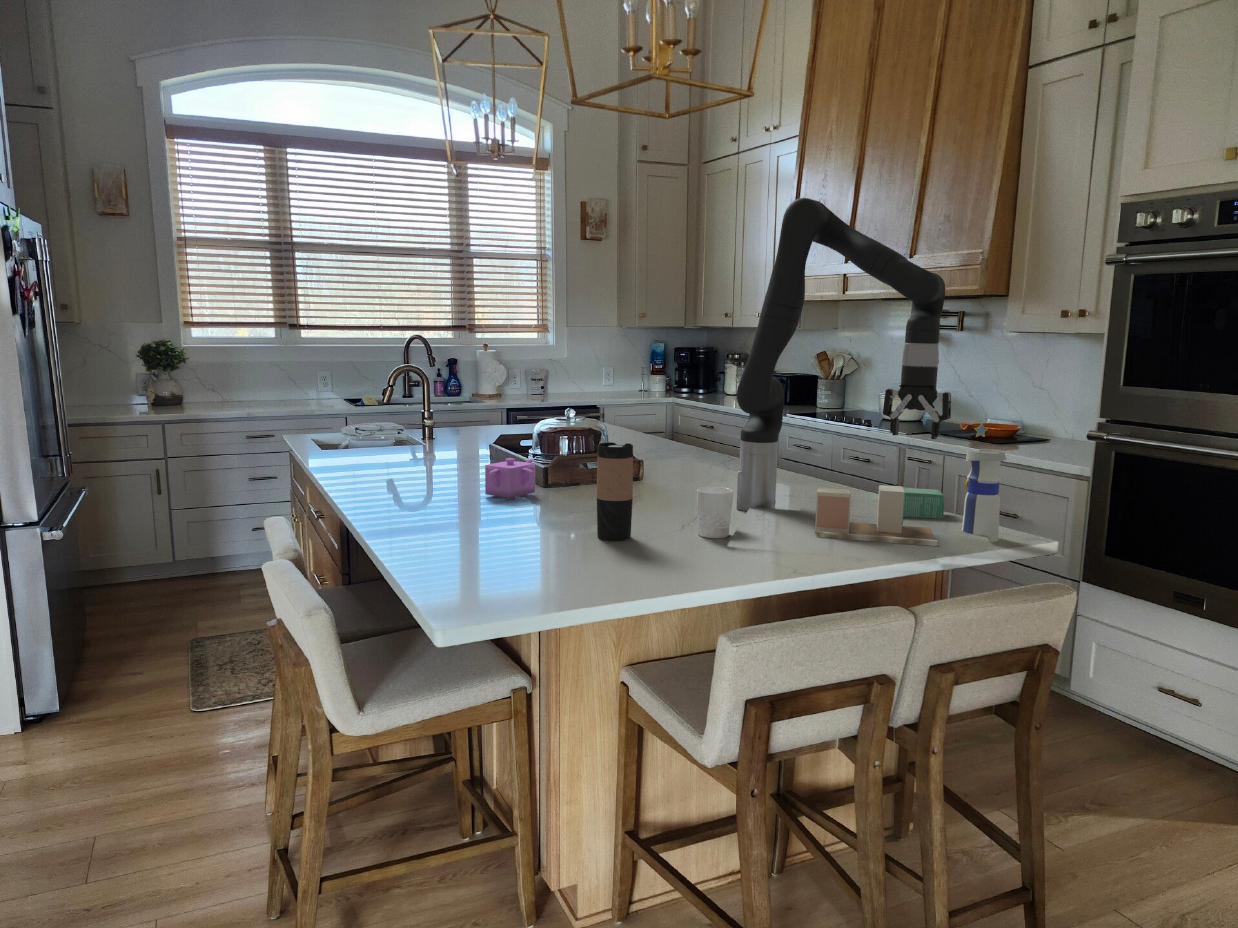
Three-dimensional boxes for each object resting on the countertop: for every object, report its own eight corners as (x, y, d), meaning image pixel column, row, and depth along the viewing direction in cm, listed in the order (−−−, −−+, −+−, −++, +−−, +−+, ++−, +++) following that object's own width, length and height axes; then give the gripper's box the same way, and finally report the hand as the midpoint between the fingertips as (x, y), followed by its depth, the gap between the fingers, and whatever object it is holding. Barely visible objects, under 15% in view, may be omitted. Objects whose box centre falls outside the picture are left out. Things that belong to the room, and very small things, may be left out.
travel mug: (606, 542, 181) (607, 447, 177) (590, 534, 187) (591, 443, 184) (638, 539, 184) (640, 446, 181) (621, 531, 191) (623, 441, 188)
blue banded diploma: (949, 535, 192) (957, 423, 188) (978, 532, 196) (987, 422, 192) (977, 543, 185) (987, 427, 181) (1007, 540, 188) (1017, 426, 184)
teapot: (515, 488, 240) (514, 452, 238) (555, 494, 232) (555, 456, 231) (470, 498, 225) (470, 460, 223) (512, 505, 217) (512, 465, 216)
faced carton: (814, 533, 186) (817, 491, 184) (815, 527, 191) (818, 487, 189) (848, 535, 184) (851, 494, 183) (848, 530, 189) (851, 489, 187)
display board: (816, 543, 183) (816, 532, 182) (819, 526, 199) (819, 515, 199) (936, 553, 177) (937, 541, 176) (929, 534, 193) (930, 523, 192)
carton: (902, 533, 187) (905, 492, 186) (877, 531, 188) (879, 490, 187) (900, 526, 194) (903, 486, 192) (876, 524, 195) (879, 485, 194)
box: (943, 525, 203) (945, 493, 202) (883, 522, 205) (884, 490, 204) (938, 518, 210) (940, 488, 209) (880, 515, 213) (881, 485, 211)
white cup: (734, 532, 192) (736, 488, 190) (727, 540, 184) (728, 494, 183) (699, 529, 194) (701, 485, 193) (691, 537, 187) (692, 491, 185)
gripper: (882, 363, 192) (877, 435, 195) (949, 366, 184) (943, 441, 187) (892, 362, 198) (887, 432, 201) (957, 365, 190) (951, 438, 193)
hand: (914, 437), depth 194 cm, fingers open, 8 cm apart
